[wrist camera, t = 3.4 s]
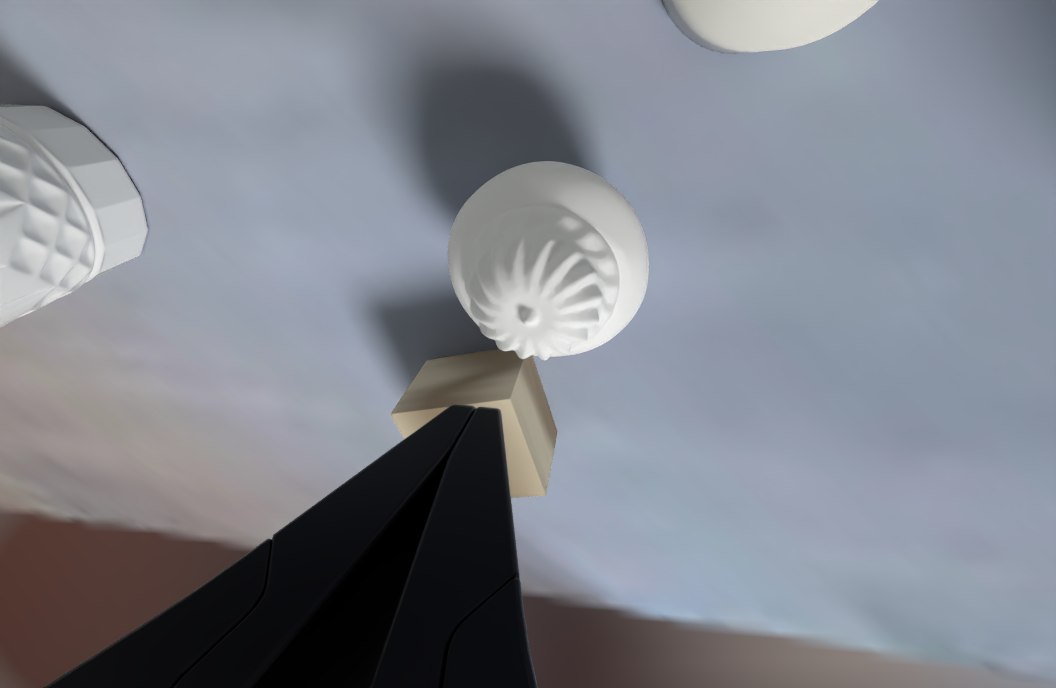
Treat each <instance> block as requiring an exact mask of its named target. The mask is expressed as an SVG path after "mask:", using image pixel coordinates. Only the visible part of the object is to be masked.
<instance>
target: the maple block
mask: <svg viewBox="0 0 1056 688" xmlns="http://www.w3.org/2000/svg"><path fill="white" fill-rule="evenodd" d="M453 404H461V405H471V406H474V407H476V408H478V407H491V408H498V409H500V410H501V414H502V423H503V432H504V441H505V450H506V459H507V468H508V477H509V486H510V495H511V498H513V497H530V496H546V493H547V487H548V481H549V476H550V470H551V465H552V459H553V454H554V448H555V443H556V437H557V429H556V426H555V423H554V420H553V417H552V414H551V411H550V408H549V405H548V402H547V399H546V395H545V392H544V389H543V386H542V383H541V380H540V377H539V374H538V371H537V368H536V365H535V362H534V359H533V356H532V355H531V356H529V357H528V358H525V359H521V358H519V357H518V355H517V354H516V352H515V351H513V350H511V351H502V350H500V349H494V350H488V351H482V352H475V353H469V354H463V355H457V356H450V357H444V358H438V359H432V360H426V362H425V363H424V365H423V366H422V368H421V369H420V371H419V372H418V374H417V375H416V377H415V378H414V380H413V381H412V383H411V384H410V386H409V387H408V389H407V390H406V392H405V393H404V395H403V396H402V398H401V399H400V401H399V402H398V404H397V405H396V407H395V408H394V410H393V411H392V413H391V416H392V417H393V419H394V421H395V423H396V425H397V427H398V429H399V431H400V432H401V434H402V436H403V438H404V439H405V438H407V437H408V436H410V435H411V434H412V433H414V432H415V431H416V430H418V429H419V428H421V427H422V426H423V425H425V424H426V423H427V422H429V421H430V420H432V419H433V418H434V417H436V416H437V415H438V414H440V413H441V412H442V411H444V410H445V409H447V408H448V407H449V406H451V405H453Z"/></svg>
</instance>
